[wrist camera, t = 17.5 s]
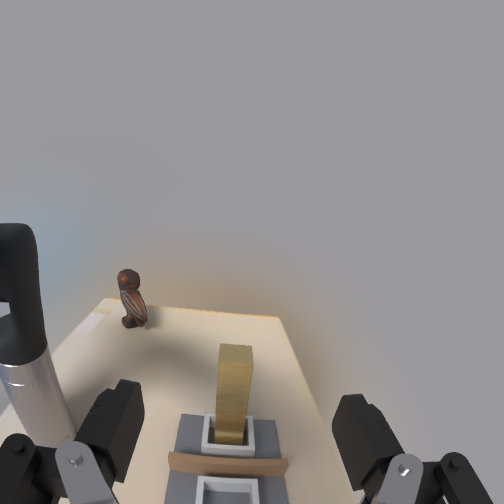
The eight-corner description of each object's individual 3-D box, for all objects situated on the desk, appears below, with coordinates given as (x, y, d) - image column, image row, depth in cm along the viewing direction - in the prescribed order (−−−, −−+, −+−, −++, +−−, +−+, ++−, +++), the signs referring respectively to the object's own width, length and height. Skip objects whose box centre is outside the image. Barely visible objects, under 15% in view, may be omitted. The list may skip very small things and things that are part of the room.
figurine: (153, 332, 68) (150, 275, 66) (134, 336, 64) (130, 277, 62) (134, 317, 76) (131, 266, 74) (117, 319, 72) (113, 267, 70)
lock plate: (292, 541, 20) (300, 532, 19) (160, 535, 19) (154, 525, 18) (273, 423, 43) (277, 406, 42) (181, 416, 42) (180, 400, 41)
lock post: (240, 452, 35) (253, 363, 31) (214, 450, 35) (218, 361, 31) (240, 434, 39) (251, 345, 35) (215, 432, 39) (220, 343, 35)
